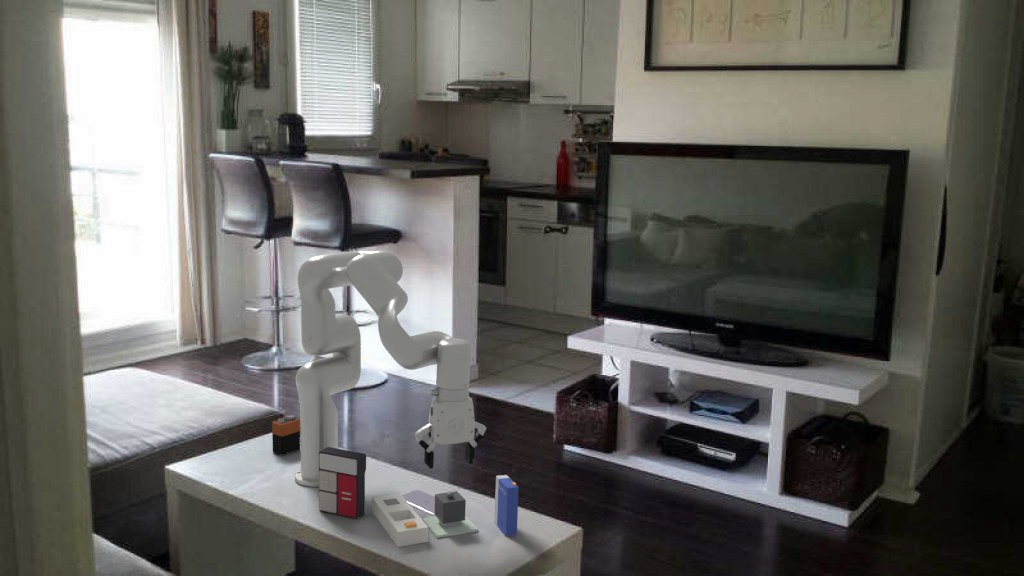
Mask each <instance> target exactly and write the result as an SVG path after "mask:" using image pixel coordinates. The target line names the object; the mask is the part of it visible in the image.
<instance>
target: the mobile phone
mask: <svg viewBox="0 0 1024 576" xmlns="http://www.w3.org/2000/svg"><path fill="white" fill-rule="evenodd" d="M401 495H402V496H403V497H404V499H405V500H406V501H407V502H408V503H409V505H410V506H411V507H412V508H415V509H416V510H418V511H421V512H423V513H425V514H428V515H430V516H432V515H433V516H435V495H432V494H430V493H427V492H425V491H422V490H420V489H415V490H412V491H410V492H406V493H404V494H401ZM433 516H432V517H433Z"/></svg>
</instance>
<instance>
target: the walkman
mask: <svg viewBox="0 0 1024 576" xmlns="http://www.w3.org/2000/svg"><path fill="white" fill-rule="evenodd" d="M519 489H520V488H519V486H518V484H517V483H516V482H515V481H513V480H512V478H510V476H508V474H504V475H502V474H501V475H500V474H499V475H496V476H495V490H494V491H495V493H494V519H493V520H494V522H493V523H494V524H495V525H496V526H497V528H498V529H499V530H500V531H501V532H502V534H503V535H504V536H505V537H511V536H517V535H518V515H519V514H518V512H519Z"/></svg>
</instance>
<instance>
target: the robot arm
mask: <svg viewBox="0 0 1024 576" xmlns="http://www.w3.org/2000/svg"><path fill="white" fill-rule="evenodd" d="M403 272H404V268H403V264H402V262H401V259H399V257H398V256H397V255H396V254H394V253H393V252H392V251H391V252H390V251H372V250H371V251H370V250H368V251H366V250H365V251H364V250H355V251H346V252H336V253H334V252H333V253H328V254H327V253H326V254H321V255H316V256H313V257H310V258H308V259H306V260H305V261H304V262H303V263H302V264H301V266H300V267H299V270H298V272H297V287H298V291H299V298H300V323H301V324H300V325H301V328H300V330H301V331H300V332H301V346H302V349H303V351H304V352H305V353H306V355H309V356H313V357H320V356H325V355H329V354H332V356H329V357H324V358H320V359H315V360H311V361H308V362H306V363H304V364H302V365H301V366H300V367H299V369H298V370H297V371H296V374H295V385H296V390H297V394H298V402H299V417H300V418H299V419H300V469H299V470H297V471H296V472H295V473H294V481H295V482H296V483H298V484H299V485H301V486H305V487H314V488H319V451H321V450H323V449H325V448H327V447H331V448H337V449H339V416H338V415H339V414H338V409H337V406H336V404H335V403H334V401H333V399H332V395H334V394H337V393H342V392H344V391H347V390H348V391H349V390H351V389H353V388H355V387H356V386H357V384H358V383H359V381H360V379H361V372H362V371H361V370H362V369H361V368H362V367H361V365H362V360H361V359H362V357H361V356H362V353H361V351H362V348H361V347H362V346H361V345H362V344H361V343H362V339H361V337H362V335H361V330H360V327H359V325H358V323H357V321H356V320H355V319H354V318H353V316H351V315H349V314H345V313H339V314H336V302H335V301H336V300H335V298H334V296H333V294H332V291H330V289H334V288H343V287H349V286H353V287H354V288H355V289H356V291H357V292H358V293H359V295H361V297H362V298H363V299H364V301H366V303H367V305H368V306H369V307H370V308H371V309H372V311H373V312H374V313H375V314H376V315H377V318H378V319H377V329H378V334H379V338H380V342H381V344H382V346H383V348H384V349H385V350H386V351H387V353H388V354H389V355H390V356H391V357H392V359H393V360H394V361H395V362H396V363H397V364H398V365H399V366H401V367H402V368H403V369H405V370H409V371H412V370H413V371H414V370H415V371H416V370H419V369H422V368H425V367H426V368H427V367H429V366H435V365H436V374H435V375H436V380H435V382H436V383H435V385H434V388H433V389H430V390H429V394H430V397H431V396H432V397H433V396H434V397H433V398H432V401H431V405H430V409H429V415H428V416H429V417H428V424H425V425H424V426H422V427H421V428H419V429H418V430H416V431H414V432H413V436H414V437H415V440H416V442H417V443H418V444H419V445H420V447H422V449H424V458H423V461H424V464H425V465H426V466H427V467H428V468H429V469H430V470H431V469H433V468H434V460H435V458H434V457H435V452H434V451H433V450H434V448H435V447H436V446H437V445H438V446H445V445H454V444H460V443H461V444H462V443H465V448H464V449H465V450H464V460H465V461H466V462H467V463H468V464H469V465H472V464H473V462H474V459H475V452H476V447H477V446H478V443H479V442H480V441H481V440H483V437H484V434H485V432H486V430H487V426H485V425H484V424H482V423H480V422H478V421H475V412H474V411H475V410H474V403H473V399H472V397H470V396H469V395H470V377H471V376H470V375H471V355H472V354H471V353H472V346H471V344H470V342H469V341H468V340H466V339H462V338H458V337H452V336H451V335H449V334H447V333H445V332H442V331H438V330H433V331H428V332H424V333H423V332H422V333H419V334H416V335H415V334H414V335H410V334H409V333H407V331H406V330H405V329H404V328H403V326H402V325H401V323H400V321H399V319H398V316H399V314H401V312H403V311H404V309H405V307H406V306H407V303H408V301H409V296H408V293H406V291H405V290H404V289H403V287H402V286H401V285H400V284H399V283H398V282H399V281H400V280H401V279H402V276H403ZM476 429H477V431H475V430H476ZM475 432H476V433H475ZM426 434H427V436H428V438H427V439H426V441H425V440H424V438H423V436H424V435H426Z"/></svg>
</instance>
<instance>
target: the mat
mask: <svg viewBox="0 0 1024 576" xmlns="http://www.w3.org/2000/svg"><path fill="white" fill-rule="evenodd" d="M421 519H422V520H423V521H424V523H425V524H426V525H427V526H428V530H429V531H430V532H431V533H432V534H433V535H434V537H435V538H436V539H440V538H446V537H452V536H458V535H459V536H460V535H464V534H470V533H476V532H477V533H478V532H479V531H478V530H479V529H478V527H477V526H476V525H475V524H474V523H473V522H472V521H471V520H470V519H469V518H468V517H467V516H466V515H465V520H464V521H461V526H455V527H449V528H444V527H443V526H442V525H441V524H440V522H439V519H438V518H437V517H436V516H428V517H422V518H421Z"/></svg>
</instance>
